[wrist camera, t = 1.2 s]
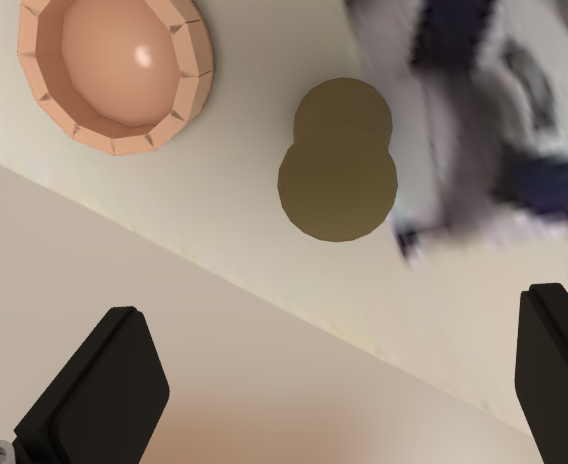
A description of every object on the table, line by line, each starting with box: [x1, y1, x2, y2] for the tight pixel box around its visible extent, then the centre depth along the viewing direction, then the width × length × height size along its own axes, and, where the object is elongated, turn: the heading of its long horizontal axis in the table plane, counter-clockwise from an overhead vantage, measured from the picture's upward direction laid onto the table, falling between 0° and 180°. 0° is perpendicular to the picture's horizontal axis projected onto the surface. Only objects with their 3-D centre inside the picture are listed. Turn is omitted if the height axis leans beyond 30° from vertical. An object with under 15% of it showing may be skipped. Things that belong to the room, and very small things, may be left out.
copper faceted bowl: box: [17, 0, 214, 156], centre depth 27 cm, size 10×10×4 cm
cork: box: [277, 78, 398, 242], centre depth 24 cm, size 6×6×11 cm
